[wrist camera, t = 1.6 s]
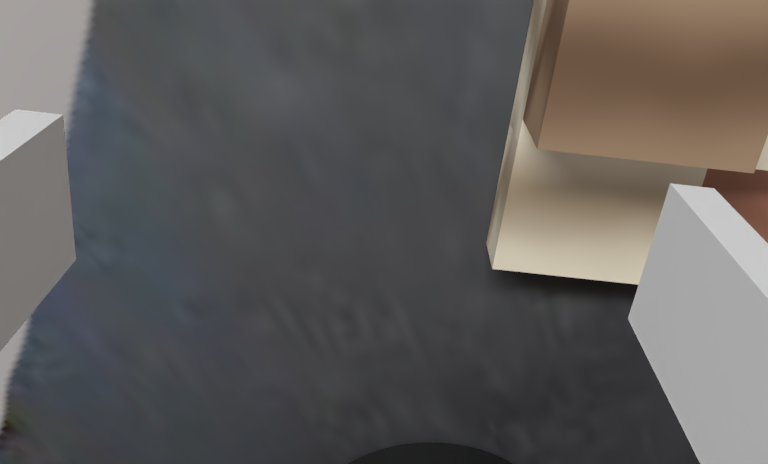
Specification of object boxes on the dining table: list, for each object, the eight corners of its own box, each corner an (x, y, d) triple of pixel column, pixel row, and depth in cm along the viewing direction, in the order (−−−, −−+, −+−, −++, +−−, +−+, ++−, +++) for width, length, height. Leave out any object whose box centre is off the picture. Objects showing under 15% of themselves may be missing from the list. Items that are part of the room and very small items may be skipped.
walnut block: (716, 141, 30) (753, 173, 27) (522, 118, 30) (537, 149, 26) (767, -12, 27) (815, 4, 24) (554, -38, 27) (574, -25, 24)
